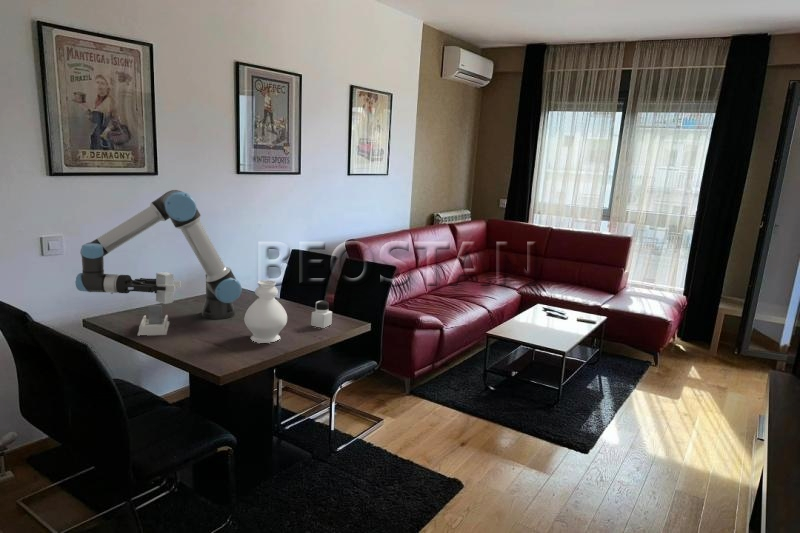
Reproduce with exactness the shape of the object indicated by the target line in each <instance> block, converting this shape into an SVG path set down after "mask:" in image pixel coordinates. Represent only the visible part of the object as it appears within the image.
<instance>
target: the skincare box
mask: <svg viewBox="0 0 800 533" xmlns="http://www.w3.org/2000/svg"><path fill="white" fill-rule="evenodd" d="M174 278H175V274H174V273H171V272H168V271H162V272H161V271H160V272H156V273H155V279H156V285H157V286H158V284H162V285H174V281H175V280H174ZM155 302H157V303H160V304H162V305H163V304H164V305H168V304H171V303H173V302H174V292H163V291H158V290H157V293H155Z"/></svg>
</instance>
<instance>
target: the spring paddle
mask: <svg viewBox="0 0 800 533" xmlns="http://www.w3.org/2000/svg"><path fill="white" fill-rule="evenodd" d="M162 305H163V304H150V305H148V319H149V323H162V319H163V306H162Z"/></svg>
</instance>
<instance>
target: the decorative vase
mask: <svg viewBox="0 0 800 533" xmlns="http://www.w3.org/2000/svg"><path fill="white" fill-rule="evenodd" d="M276 285H277V282H276V281H275V280H270V279H269V280H266V279H265V280H258V281H257V287H256V288H255V290H254V293H255V295H256V297H258V298H256V299H255V301H254V302H253V303H252V304H250V306H249V307H248V308H247V310H246V312H245V313H244V318H243V319H244V320H243V321H244V324H245V326H246V327H247V330H249V332H250V333H251V334H252V335H251V336H250V339H251V340H252V341H251V340H250V341H251V342H253V341H254V342H253V343H255V342H257V343H256V344H260V343H269V344H271V343H270V342H275V341H277V340H279V339H280V340H281V336H280V335H279V334H280V332H282V330H283V329H284V328H285V326H286V325H287V322H288V315H287V311H286V310H285V308H284V306H283V305H282V304H281V303H280V302H279V301H278V300H277V299H276V298H275V297H276V296H277V295H279V290H278V288H277V287H276ZM280 340H279V341H280ZM275 343H276V342H275Z"/></svg>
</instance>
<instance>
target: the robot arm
mask: <svg viewBox="0 0 800 533" xmlns="http://www.w3.org/2000/svg"><path fill="white" fill-rule="evenodd" d="M201 216H202V215H201V213H200V212H199V210H198V208H197V203H196V201H195V199H194V198H193V196H191V195H190V194H188V193H187V192H184V191H182V190H177V189H171V190H169V191H166V192H165V193H163V194H162V195H161V196H159V197H158V198H156V199H155V200H153V201H152V202H150V205H149V206H148V207H147V208H145V209H143V210H141V211H139V212H138V213H137V214H135V215H133V216H132V217H130V218H129V219H127V220H125V221H123V222H121V223H120V224H118V225H117V226H115V227H113V228H112V229H110V230H108V231H107V232H105V233H103V234H102V235H100V236H98V237H97V238H96V239H93V240H92V241H90V242H86V243H84V244H82V245H81V248H80V257H81V265H82V266H81V268H82V271H81V272H79V273H78V274H76V277H75V282H74V283H75V288H76V289H77V290H78V291H80V292H88V293H110V294H111V295H113V294H116V293H118V294H128V293H130V292H139V293H151V294H152V293H154V294H156V293H157V290H158V291H163V292H173V293H175V292H176V288H177V289H179V288H181V286H182V285H181V284H182V283H181V282H182V281H181V280H174V285H162V284H158V286H157V285H156V278H144V277H141V278H134V279H132V277H131V275H129V274H117V273H116V274H115V273H114V274H113V273H105V269H104V266H105V265H104V262H105V261H104V257H105V256H106V255H108V254H109V253H111V252H112V251H114V250H115V249H118V248H119V247H121V246H122V245H124V244H126V243H128V242H129V241H130V240H133V239H134V238H136V237H137V236H138V235H140V234H142V233H143V232H145V231H146V230H149V229H150V228H151V227H153V226H155V225H156V224H158V223H160V222H166V221H167V220H169V219H170V220H171V222H172V224H173V226H174V228H176V229H179V230H180V232H182V234H183V236H184V237H185V239H186V241H187V244H189V246H190V248H191V250H192V252H193V254H194V255H195V256H196V258H197V260H198V262H199V263H200V265H201V267H202V269H203V270H204V272H205V276H204V277H205V301H204V304H203V306H202V308H201V316H202V317H203V318H206V319H213V320H221V319H230V318H232V317H234V316H235V314H236V309H235V306H234V304H233V302H235V301H236V300H238V299H239V297H240V296H241V294H242V285H241V282H240V281H239V280H238V279H236V278H237V277H236V276H235V275H234V272H233V271H232V269H231V268H230V267H227V266H226V265H225V264H224V262H223V261H222V259H221V257H220V255H219V253H218V251H217V249H216V248H215V245H214V244H213V242H212V241H211V239H210V237H209V235H208V233H207V232H206V229H205V228H204V226H203V225H202V223H201V221H200V220H201Z"/></svg>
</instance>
